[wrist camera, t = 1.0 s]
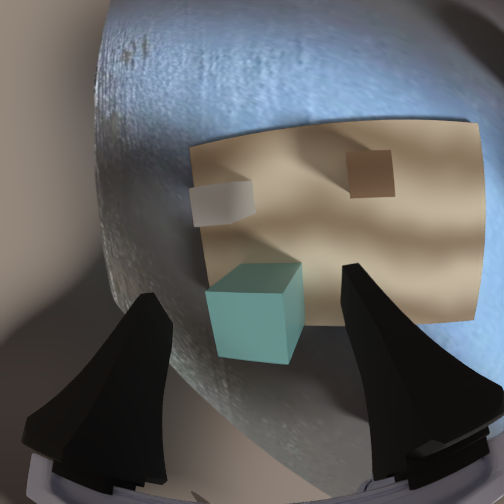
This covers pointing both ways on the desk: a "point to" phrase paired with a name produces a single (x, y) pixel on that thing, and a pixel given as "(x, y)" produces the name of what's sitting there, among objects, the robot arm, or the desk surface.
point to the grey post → (222, 203)
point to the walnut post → (370, 174)
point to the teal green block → (258, 312)
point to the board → (357, 213)
